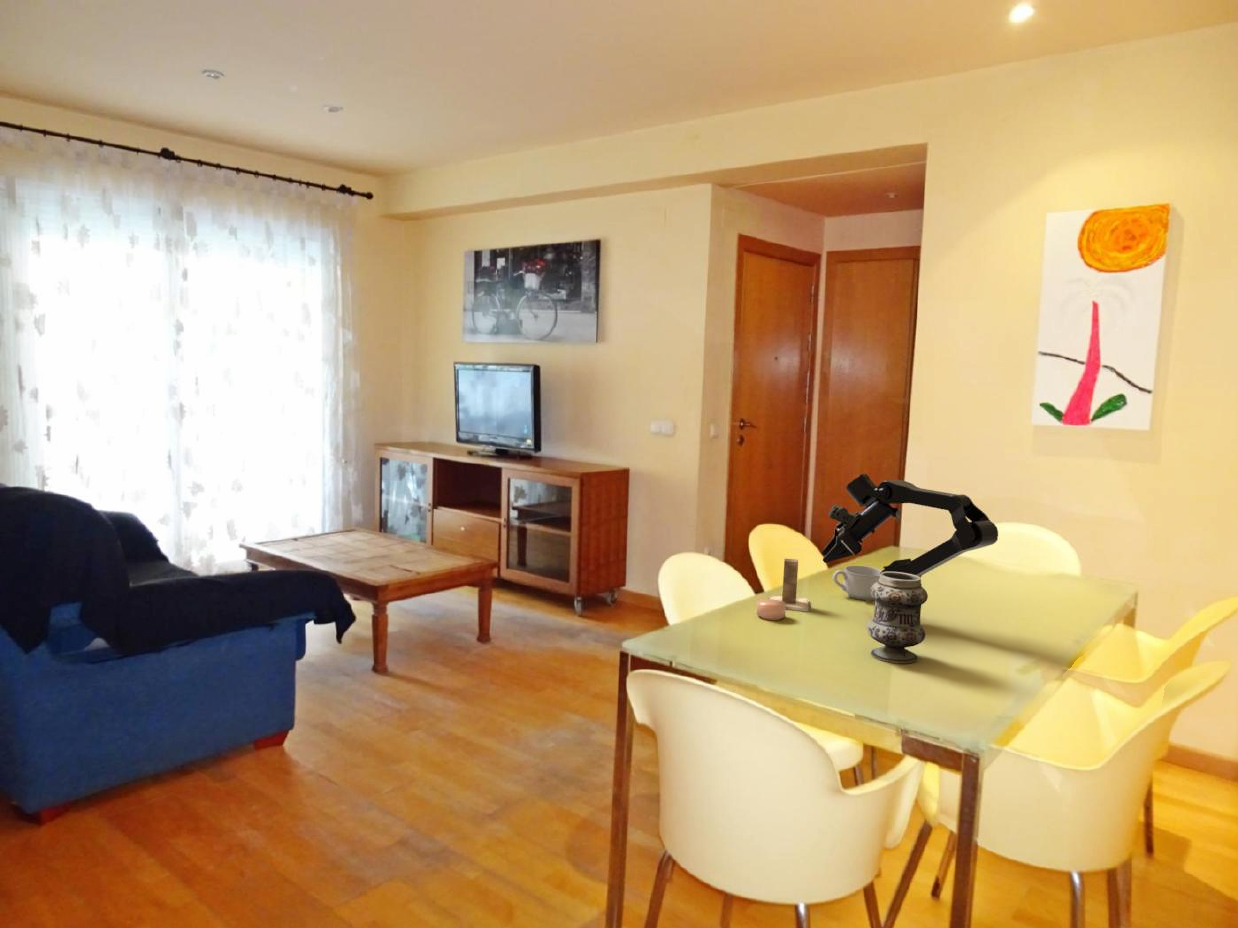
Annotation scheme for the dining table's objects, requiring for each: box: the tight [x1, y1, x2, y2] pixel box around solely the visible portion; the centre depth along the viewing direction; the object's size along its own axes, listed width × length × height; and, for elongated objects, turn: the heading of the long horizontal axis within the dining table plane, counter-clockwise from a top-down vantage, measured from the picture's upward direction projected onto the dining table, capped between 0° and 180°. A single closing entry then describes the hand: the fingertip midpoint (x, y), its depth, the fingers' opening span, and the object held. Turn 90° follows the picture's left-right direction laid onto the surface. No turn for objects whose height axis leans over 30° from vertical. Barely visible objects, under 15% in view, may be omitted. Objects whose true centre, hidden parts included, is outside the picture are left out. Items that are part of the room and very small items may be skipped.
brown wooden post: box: [769, 558, 809, 612], centre depth 228 cm, size 10×10×12 cm
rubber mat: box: [767, 597, 811, 613], centre depth 228 cm, size 11×11×1 cm
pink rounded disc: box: [756, 598, 787, 621], centre depth 216 cm, size 7×7×4 cm
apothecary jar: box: [866, 572, 929, 665], centre depth 189 cm, size 12×12×18 cm
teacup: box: [832, 564, 882, 602], centre depth 240 cm, size 14×11×8 cm
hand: (823, 557), depth 225 cm, fingers open, 9 cm apart
